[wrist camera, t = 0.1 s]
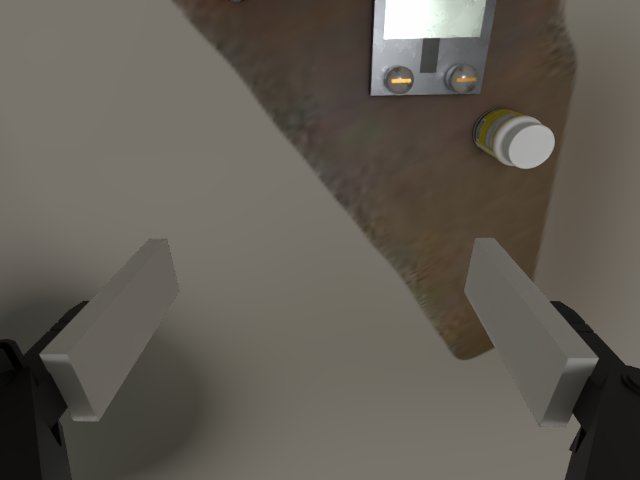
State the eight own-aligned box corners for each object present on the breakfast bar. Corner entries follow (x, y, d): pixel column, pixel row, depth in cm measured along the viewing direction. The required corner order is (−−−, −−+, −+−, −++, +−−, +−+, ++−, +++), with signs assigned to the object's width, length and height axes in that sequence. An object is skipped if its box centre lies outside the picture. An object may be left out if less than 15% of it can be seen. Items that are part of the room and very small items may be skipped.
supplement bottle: (522, 136, 40) (566, 155, 32) (482, 159, 41) (515, 183, 34) (506, 97, 38) (549, 109, 31) (465, 123, 39) (496, 140, 32)
